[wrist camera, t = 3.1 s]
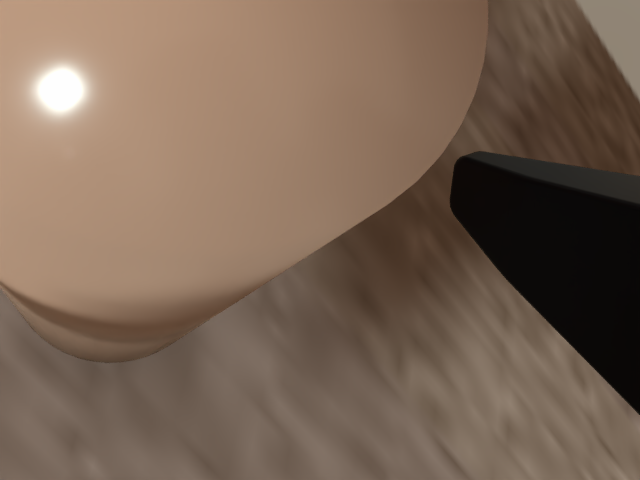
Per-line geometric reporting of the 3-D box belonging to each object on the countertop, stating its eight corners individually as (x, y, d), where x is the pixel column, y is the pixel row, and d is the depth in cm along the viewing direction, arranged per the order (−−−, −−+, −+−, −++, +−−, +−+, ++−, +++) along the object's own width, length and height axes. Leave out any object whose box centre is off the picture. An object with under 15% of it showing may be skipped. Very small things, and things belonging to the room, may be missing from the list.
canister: (236, 213, 19) (527, -148, 7) (177, 387, 17) (422, 358, 5) (58, 143, 18) (-14, -487, 5) (-29, 325, 16) (-475, 42, 3)
